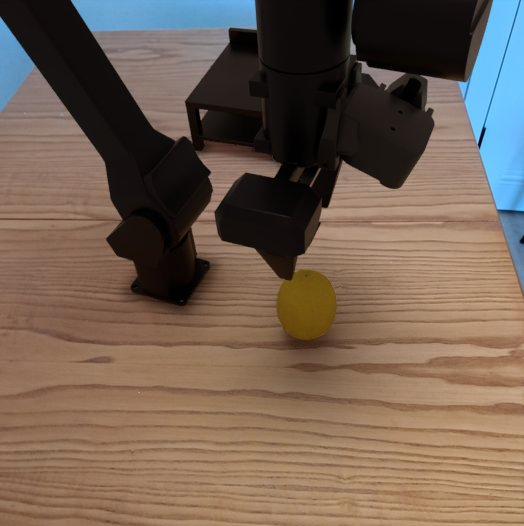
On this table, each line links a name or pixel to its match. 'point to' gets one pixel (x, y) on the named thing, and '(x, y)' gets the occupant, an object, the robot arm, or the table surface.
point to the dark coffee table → (228, 96)
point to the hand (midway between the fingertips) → (305, 240)
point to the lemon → (306, 304)
